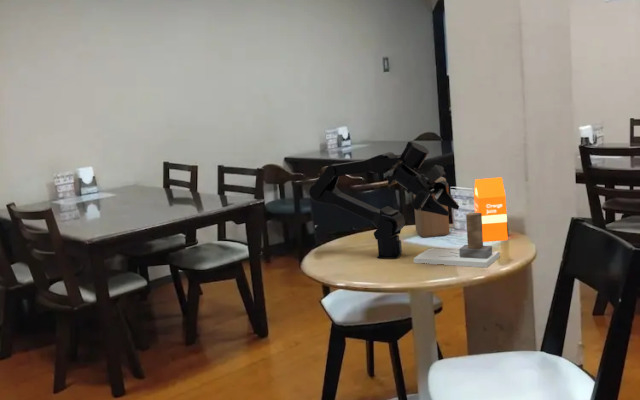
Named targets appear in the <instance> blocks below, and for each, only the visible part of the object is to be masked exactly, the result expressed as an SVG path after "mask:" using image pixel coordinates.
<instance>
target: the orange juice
mask: <svg viewBox="0 0 640 400" xmlns="http://www.w3.org/2000/svg"><path fill="white" fill-rule="evenodd" d="M506 198H507V195H506V191H505V186H504V181H503V177H502V176H501V177H490V178H489V177H488V178H477V179H475V180H474V191H473V201H474V202H473V203H474V204H473V205H474V206H473V207H474V213H482V234H483V243H487V242H488V243H489V242H499V241H508V239H509V238H508V235H509V234H508V217H507V215H508V214H507V199H506Z"/></svg>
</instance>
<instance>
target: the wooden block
mask: <svg viewBox="0 0 640 400" xmlns="http://www.w3.org/2000/svg"><path fill="white" fill-rule="evenodd" d="M442 180H444V181H446V182H447V179H446V177H444V176H441V177H440V178H439V179H437V180H436V181H435V182H439V181H442ZM433 187H434V186H433ZM412 196H413V199H414V198H415V195H414V194H413V193H412ZM441 205H442V204H441ZM442 206H443V207H444V208H445V209H446V210H447V211H448V212H449V207H447V206H444V205H442ZM421 207H422V206H421ZM413 209H414V208H413ZM420 210H421V209H420ZM420 210H418V211H417V210H416V209H414V210H413V211H414V220H415V221H414V222H415V223H414V224H415V231H416V233H417V234H418V235H419V236H420V237H421V238H431V237H432V236H433V237H441V236H447V235H449V234H450V218H449V215H448V216H445V215H441V214H436V213H431V212H426V211H420Z"/></svg>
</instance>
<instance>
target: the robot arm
mask: <svg viewBox="0 0 640 400" xmlns="http://www.w3.org/2000/svg"><path fill="white" fill-rule="evenodd" d="M429 153H430V151H429V149H428V148H427V147H425V146H424V145H422V144H419V143H416V142H414V141H412V140H410V141H407V144H406V146H405V148H404V149H403V151H402V152H401V153H400V154H395V153H394V152H390V151H389V152H385V153H381V154H378V155H376V156H373V157H370V158H368V159H362V160H356V161H349V162H344V163H343V162H342V163H333V164H329V165H328V166H326V168H325V170H324V172H323V173H322V174H321V175H320V176H319V177H318V179H317V180H316V181H315V183H314V184H312V185H311V186H310V188H309V192H308V193H309V196H310V199H311V200H312V201H314V202H317V203H320V204H326V205H334V206H336V207H339V208H341V209H343V210H345V211H346V212H347V211H348V212H350V213H352V214H354V215H356V216H359V217H360V218H363V219H366V220H367V221H369V222H372V224H373V225H374V226H375V227H376V228H377V229H376V230H375V231H374V232H373V236H374V239H375V240H377V241H376V242H377V250H378V254H377V256H376V258H377V259H398V258H399V256H401V255H402V253H403V249H402V240H401V239H400V236H399V234H401V231H402V229H404V227H405V225H406V218H405V217H404V215H403V214H402V213H401V212H400V209H399V210H398V209H394V208H393V207H391V206H388V205H387V206H385V207H382V208H378V207H376V206H373V205H370V204H368V203H366V202H364V201H361V200H359V199H357V198H355V197H352V196H350V195H348V194H346V193H344V192H342V191H341V190H340V189H339V188H338V187H337V184H338V182H339V178H340V176H347V175H348V176H349V175H353V174H355V175H356V174H361V173H373V174H386V173H388V172H392V171H393V172H392V173H391V174H389V175H387V176H386V178H387V184H388V186H391V185H393V184H395V183H398V184H399V185H400V186H402V187H403V188H405V189H406V193H408V194H412V195H413V194H414V195H415V198H414V197H413V199H412V201H411V207H412V208H413V209H416V210H417V211H418V210H420V209H421V210H420V211H426V212H431V213H436V214H441V215H445V216H448V217H449V215H450V212H449V210H448V211H447V210H446V209H445V208H444V207H443V206H442V205H444V206H447V207H448V208H451V209H454V210H459V208H460V206H459V204H458V203H457V202H456V200H455V199H454V198H453V197H452V195H451V194H450V191H449V188H450V186H449V183H448V182H447V180H446V181H444V180H442V181H439V182H435V181H436V180H437V179H439V178H440V177H444V176H445V175H446V172H445V171H444V170H445V168H444V167H443V166H441V165H437V164H435V165H434V166H433V167H431V168H430V169H431V170H430V171H428V172H426V173H425V174H424V173H421V174H419V173H418V172H416V171H415V170H416V169H420V168H421V166H422V164H423V163H424V161H425V160H426V158H427V156H428V155H429ZM398 165H399V166H398ZM433 186H434V187H433ZM441 204H442V205H441ZM421 206H422V207H421Z"/></svg>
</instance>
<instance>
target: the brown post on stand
mask: <svg viewBox="0 0 640 400" xmlns="http://www.w3.org/2000/svg"><path fill="white" fill-rule="evenodd" d="M465 217H466V219H465V220H466V235H467V236H466V238H467V244H464V245H463V246H461V247H459V249H458V250H459V253H460V257H464V258H480V259H487V258H488V257H490V256H491V255H492V251H493V246H492V245H484V242H483V234H482V213H475V212H468V213H467V214H466V216H465Z"/></svg>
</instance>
